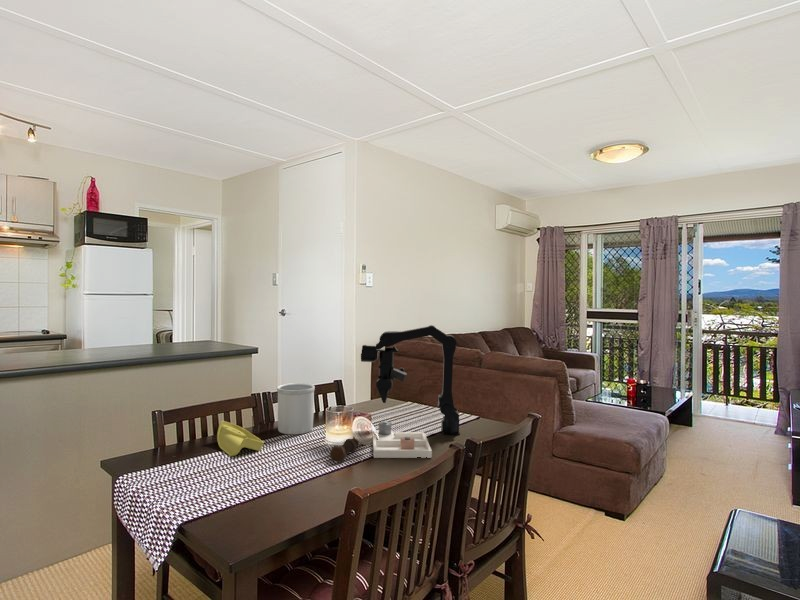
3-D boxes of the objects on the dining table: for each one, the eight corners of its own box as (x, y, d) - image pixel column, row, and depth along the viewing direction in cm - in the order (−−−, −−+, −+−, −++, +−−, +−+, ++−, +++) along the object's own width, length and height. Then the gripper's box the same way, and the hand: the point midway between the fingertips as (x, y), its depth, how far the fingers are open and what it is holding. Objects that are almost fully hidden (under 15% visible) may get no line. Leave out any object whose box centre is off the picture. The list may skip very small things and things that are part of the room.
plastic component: (266, 443, 164) (243, 436, 157) (256, 464, 162) (232, 458, 155) (240, 426, 178) (218, 419, 171) (231, 444, 176) (208, 438, 169)
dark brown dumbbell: (356, 453, 169) (338, 466, 155) (345, 444, 170) (326, 456, 156) (364, 440, 168) (347, 452, 154) (353, 431, 169) (335, 443, 155)
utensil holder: (268, 429, 186) (269, 386, 186) (297, 421, 198) (298, 381, 198) (292, 437, 177) (293, 392, 177) (321, 429, 189) (322, 386, 189)
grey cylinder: (390, 431, 187) (391, 420, 187) (391, 435, 182) (391, 423, 182) (378, 431, 187) (378, 419, 187) (378, 435, 182) (379, 423, 182)
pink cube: (413, 447, 168) (413, 435, 168) (414, 452, 164) (415, 439, 163) (399, 447, 168) (400, 435, 168) (400, 452, 163) (401, 439, 163)
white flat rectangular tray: (421, 431, 190) (421, 425, 190) (431, 457, 161) (431, 450, 161) (372, 431, 188) (372, 425, 188) (373, 457, 159) (374, 450, 159)
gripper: (405, 367, 180) (403, 407, 181) (406, 359, 199) (405, 396, 199) (376, 366, 181) (375, 406, 181) (380, 358, 200) (379, 394, 200)
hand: (385, 400), depth 191 cm, fingers open, 7 cm apart
